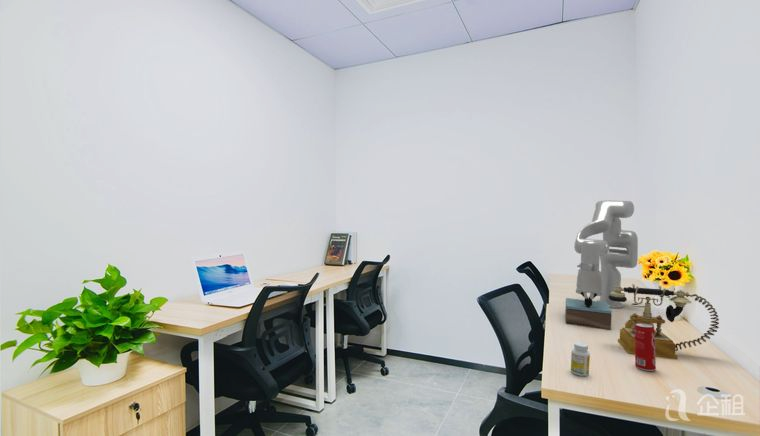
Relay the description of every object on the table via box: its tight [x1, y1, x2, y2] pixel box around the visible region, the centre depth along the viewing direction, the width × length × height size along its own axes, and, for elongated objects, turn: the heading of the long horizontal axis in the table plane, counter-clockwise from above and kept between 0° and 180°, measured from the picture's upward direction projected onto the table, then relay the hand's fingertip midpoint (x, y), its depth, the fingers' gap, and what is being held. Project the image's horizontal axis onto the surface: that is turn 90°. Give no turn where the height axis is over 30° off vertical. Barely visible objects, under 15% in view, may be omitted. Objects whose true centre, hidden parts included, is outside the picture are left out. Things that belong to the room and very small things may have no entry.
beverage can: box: [634, 323, 657, 372], centre depth 129 cm, size 6×6×15 cm
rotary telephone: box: [609, 283, 720, 360], centre depth 146 cm, size 35×18×25 cm, turn 73°
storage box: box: [564, 306, 613, 331], centre depth 179 cm, size 16×18×7 cm
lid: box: [565, 297, 613, 315], centre depth 179 cm, size 16×18×1 cm
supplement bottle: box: [570, 341, 591, 377], centre depth 125 cm, size 5×5×10 cm
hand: (588, 306), depth 174 cm, fingers closed
